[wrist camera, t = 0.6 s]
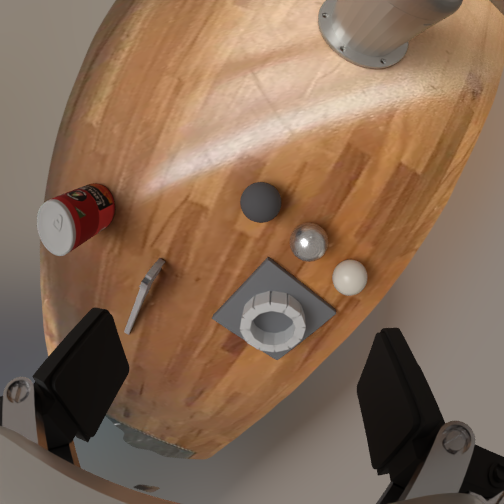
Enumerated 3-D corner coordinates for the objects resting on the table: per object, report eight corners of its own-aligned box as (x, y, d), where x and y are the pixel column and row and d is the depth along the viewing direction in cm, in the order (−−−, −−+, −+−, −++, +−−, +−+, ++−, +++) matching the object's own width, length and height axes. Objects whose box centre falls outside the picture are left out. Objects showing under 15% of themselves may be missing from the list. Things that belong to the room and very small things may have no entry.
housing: (268, 256, 39) (266, 269, 35) (335, 309, 41) (339, 324, 38) (213, 314, 44) (207, 330, 41) (277, 356, 47) (276, 372, 43)
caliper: (161, 255, 41) (143, 274, 35) (166, 259, 41) (150, 279, 36) (125, 330, 49) (111, 350, 43) (130, 333, 49) (116, 353, 44)
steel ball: (306, 210, 36) (309, 221, 31) (332, 233, 37) (339, 247, 32) (281, 237, 38) (281, 251, 33) (308, 258, 38) (311, 275, 34)
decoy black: (259, 171, 34) (255, 177, 30) (289, 195, 35) (290, 205, 31) (235, 200, 36) (229, 210, 32) (264, 223, 37) (262, 236, 32)
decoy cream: (347, 247, 37) (355, 262, 33) (368, 267, 38) (378, 284, 33) (323, 270, 39) (327, 288, 34) (345, 289, 40) (351, 308, 35)
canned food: (122, 193, 37) (77, 215, 27) (109, 237, 40) (69, 266, 30) (87, 174, 36) (39, 190, 26) (77, 216, 40) (34, 240, 30)
